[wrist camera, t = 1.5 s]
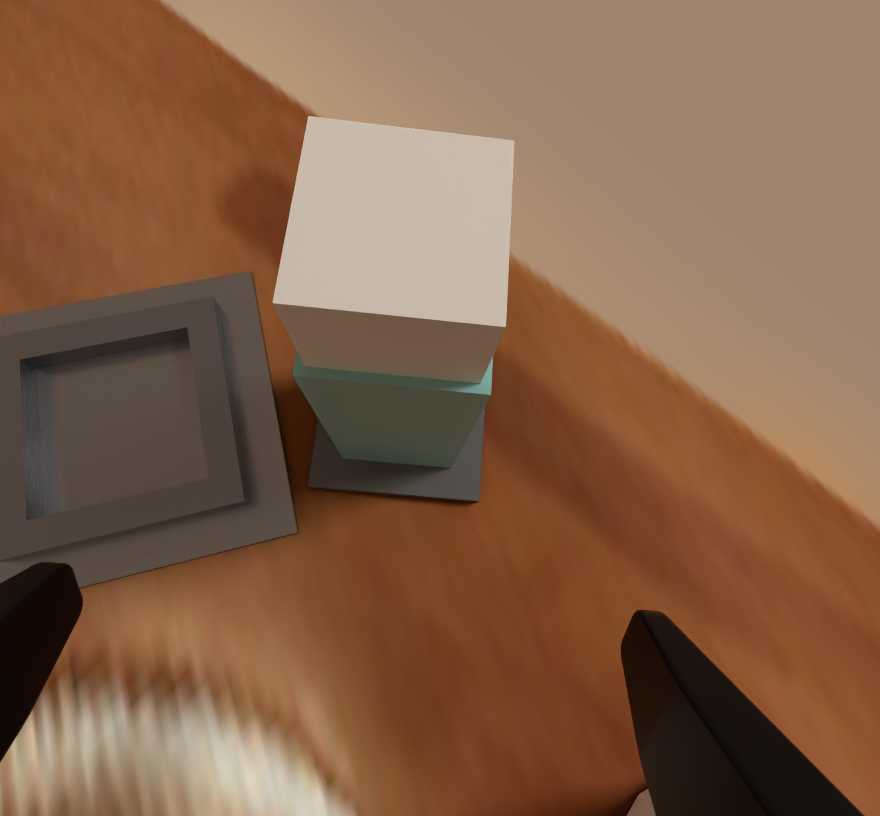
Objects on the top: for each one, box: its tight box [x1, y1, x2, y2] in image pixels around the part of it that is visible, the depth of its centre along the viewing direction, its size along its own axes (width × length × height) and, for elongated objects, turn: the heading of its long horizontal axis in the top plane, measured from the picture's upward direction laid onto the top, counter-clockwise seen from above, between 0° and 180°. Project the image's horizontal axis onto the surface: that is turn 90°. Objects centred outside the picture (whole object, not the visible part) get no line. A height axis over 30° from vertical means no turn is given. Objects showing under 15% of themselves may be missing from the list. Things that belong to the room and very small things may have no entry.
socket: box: [0, 271, 299, 588], centre depth 21 cm, size 12×12×1 cm
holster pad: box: [308, 407, 485, 502], centre depth 22 cm, size 7×7×1 cm
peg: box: [273, 116, 514, 468], centre depth 16 cm, size 4×4×13 cm
